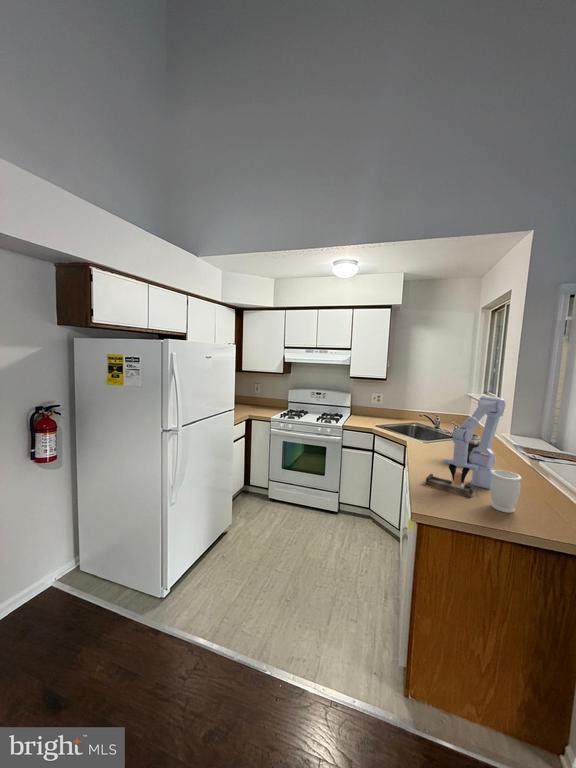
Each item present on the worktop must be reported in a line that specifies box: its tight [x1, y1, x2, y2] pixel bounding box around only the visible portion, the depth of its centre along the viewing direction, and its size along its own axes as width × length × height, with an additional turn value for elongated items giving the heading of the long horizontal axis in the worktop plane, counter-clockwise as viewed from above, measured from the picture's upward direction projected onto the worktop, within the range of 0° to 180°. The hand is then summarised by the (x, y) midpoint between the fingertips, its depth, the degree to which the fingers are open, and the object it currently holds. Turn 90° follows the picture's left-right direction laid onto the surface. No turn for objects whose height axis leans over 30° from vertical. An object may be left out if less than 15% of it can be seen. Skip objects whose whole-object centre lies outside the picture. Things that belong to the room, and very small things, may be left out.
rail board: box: [424, 473, 476, 499], centre depth 152 cm, size 20×9×4 cm, turn 50°
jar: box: [489, 469, 522, 514], centre depth 133 cm, size 11×10×15 cm
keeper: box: [451, 471, 466, 489], centre depth 150 cm, size 5×5×6 cm
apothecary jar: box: [467, 433, 481, 464], centre depth 186 cm, size 12×12×18 cm
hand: (458, 481), depth 150 cm, fingers closed on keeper, 3 cm apart
